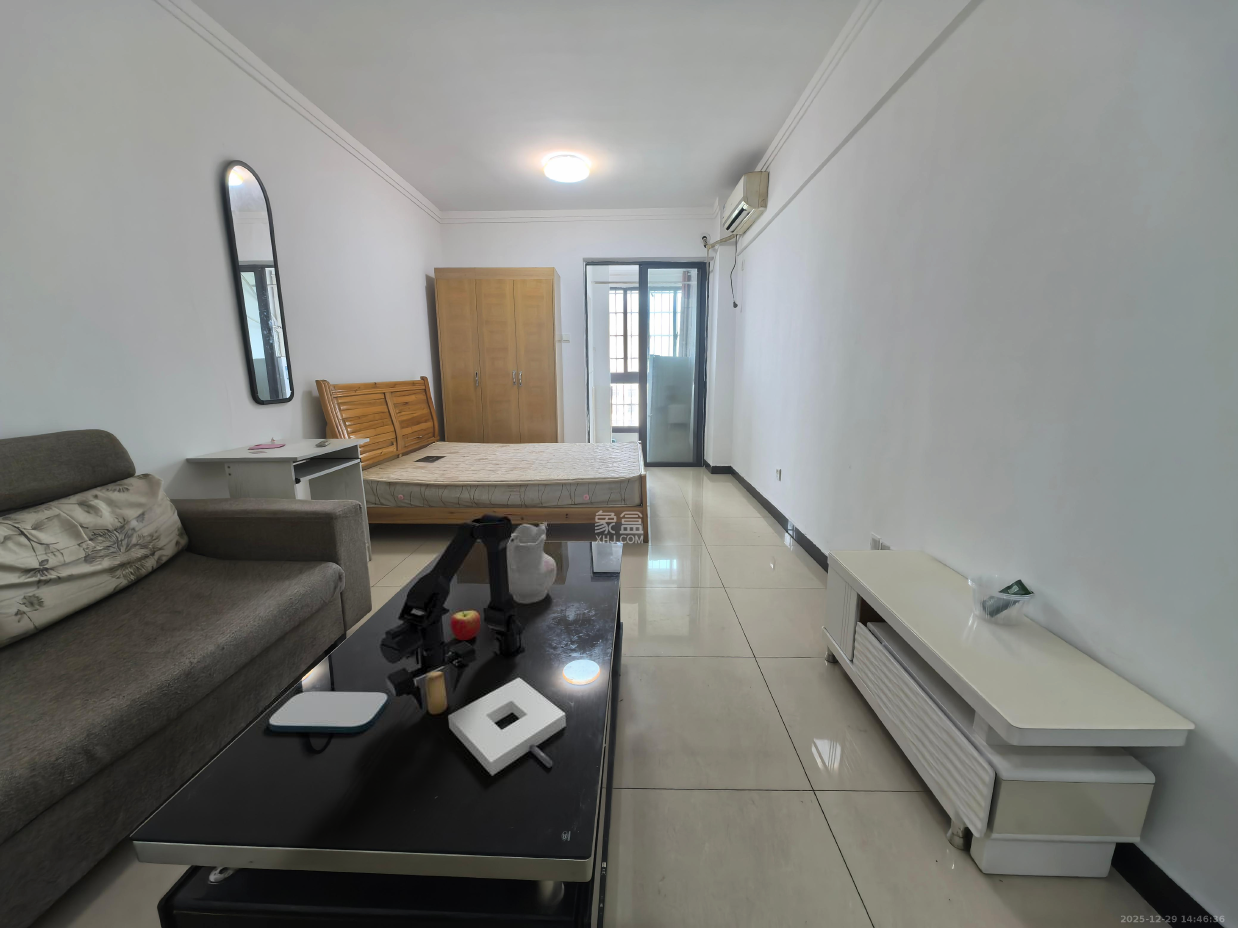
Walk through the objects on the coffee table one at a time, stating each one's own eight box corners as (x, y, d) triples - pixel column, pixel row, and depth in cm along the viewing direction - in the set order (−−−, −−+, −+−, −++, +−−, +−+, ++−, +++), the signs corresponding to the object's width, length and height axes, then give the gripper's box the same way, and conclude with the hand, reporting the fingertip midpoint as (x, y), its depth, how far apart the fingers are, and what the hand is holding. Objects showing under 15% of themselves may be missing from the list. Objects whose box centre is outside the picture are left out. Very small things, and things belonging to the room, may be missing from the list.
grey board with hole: (519, 688, 116) (519, 677, 115) (585, 741, 98) (584, 728, 98) (449, 727, 103) (448, 715, 103) (510, 796, 86) (509, 782, 85)
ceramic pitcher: (549, 615, 152) (551, 542, 147) (489, 611, 152) (489, 538, 148) (559, 586, 173) (561, 521, 169) (506, 582, 174) (507, 517, 169)
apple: (445, 641, 137) (442, 609, 135) (467, 627, 144) (464, 596, 142) (466, 648, 133) (463, 615, 131) (487, 633, 140) (485, 602, 138)
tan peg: (442, 699, 112) (439, 669, 111) (450, 707, 109) (446, 676, 108) (425, 707, 109) (422, 677, 108) (433, 716, 107) (429, 684, 105)
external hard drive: (394, 699, 113) (393, 691, 113) (366, 735, 102) (365, 727, 102) (299, 697, 115) (298, 690, 114) (262, 733, 103) (260, 725, 103)
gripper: (453, 611, 118) (458, 667, 121) (373, 641, 105) (382, 703, 108) (475, 627, 110) (480, 686, 113) (392, 662, 97) (400, 728, 100)
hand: (437, 699), depth 109 cm, fingers open, 7 cm apart
